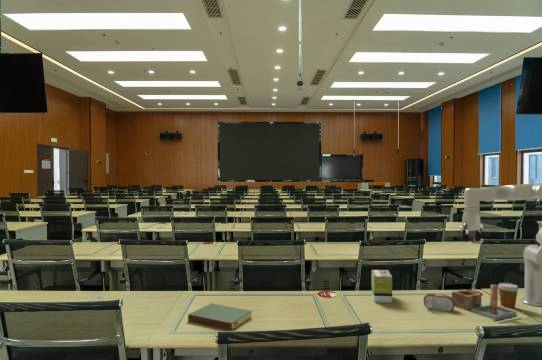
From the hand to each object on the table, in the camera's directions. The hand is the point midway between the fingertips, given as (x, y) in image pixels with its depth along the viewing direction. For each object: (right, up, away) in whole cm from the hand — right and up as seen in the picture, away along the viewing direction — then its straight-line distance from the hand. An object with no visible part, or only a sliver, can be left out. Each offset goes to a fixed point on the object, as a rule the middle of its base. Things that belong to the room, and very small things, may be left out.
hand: (471, 240), depth 228 cm
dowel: (0, -33, -23) cm, 40 cm away
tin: (-25, -34, -17) cm, 45 cm away
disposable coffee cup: (+14, -34, -12) cm, 38 cm away
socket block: (-9, -34, -13) cm, 37 cm away
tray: (0, -34, -23) cm, 41 cm away
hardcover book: (-136, -34, -31) cm, 143 cm away
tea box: (-49, -33, +3) cm, 60 cm away
